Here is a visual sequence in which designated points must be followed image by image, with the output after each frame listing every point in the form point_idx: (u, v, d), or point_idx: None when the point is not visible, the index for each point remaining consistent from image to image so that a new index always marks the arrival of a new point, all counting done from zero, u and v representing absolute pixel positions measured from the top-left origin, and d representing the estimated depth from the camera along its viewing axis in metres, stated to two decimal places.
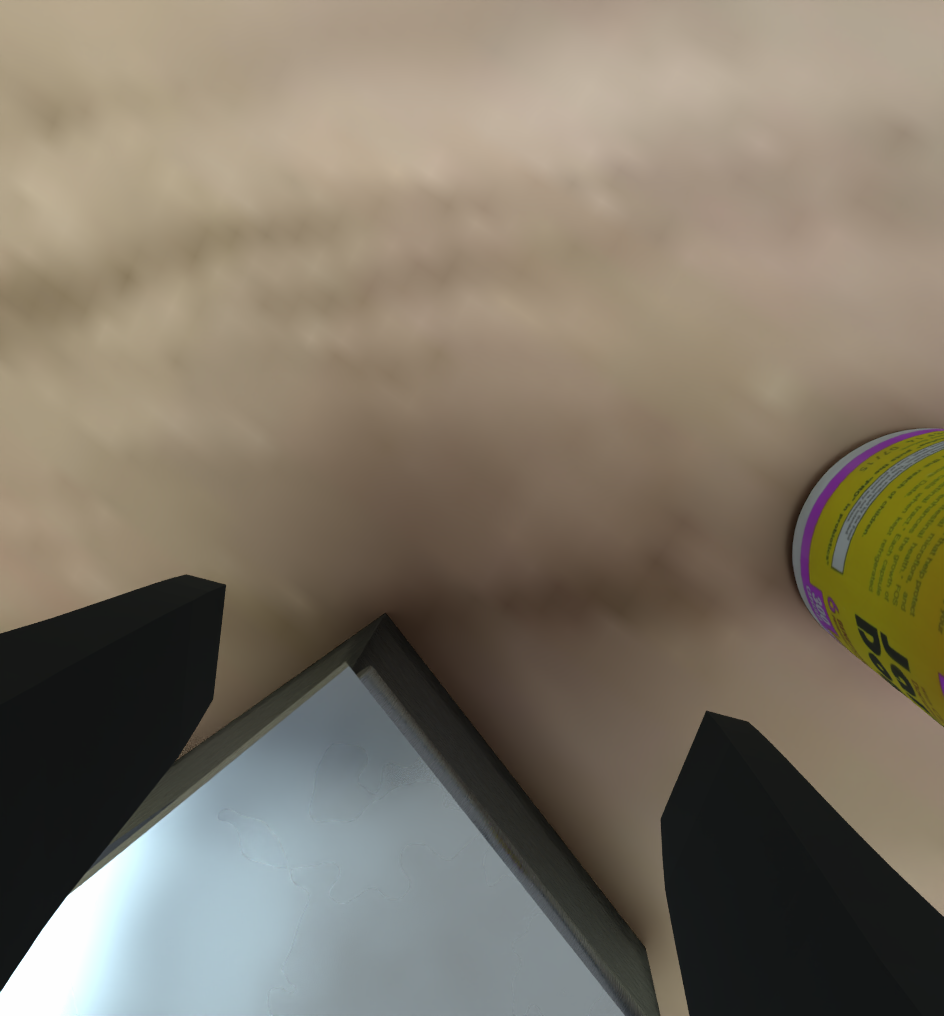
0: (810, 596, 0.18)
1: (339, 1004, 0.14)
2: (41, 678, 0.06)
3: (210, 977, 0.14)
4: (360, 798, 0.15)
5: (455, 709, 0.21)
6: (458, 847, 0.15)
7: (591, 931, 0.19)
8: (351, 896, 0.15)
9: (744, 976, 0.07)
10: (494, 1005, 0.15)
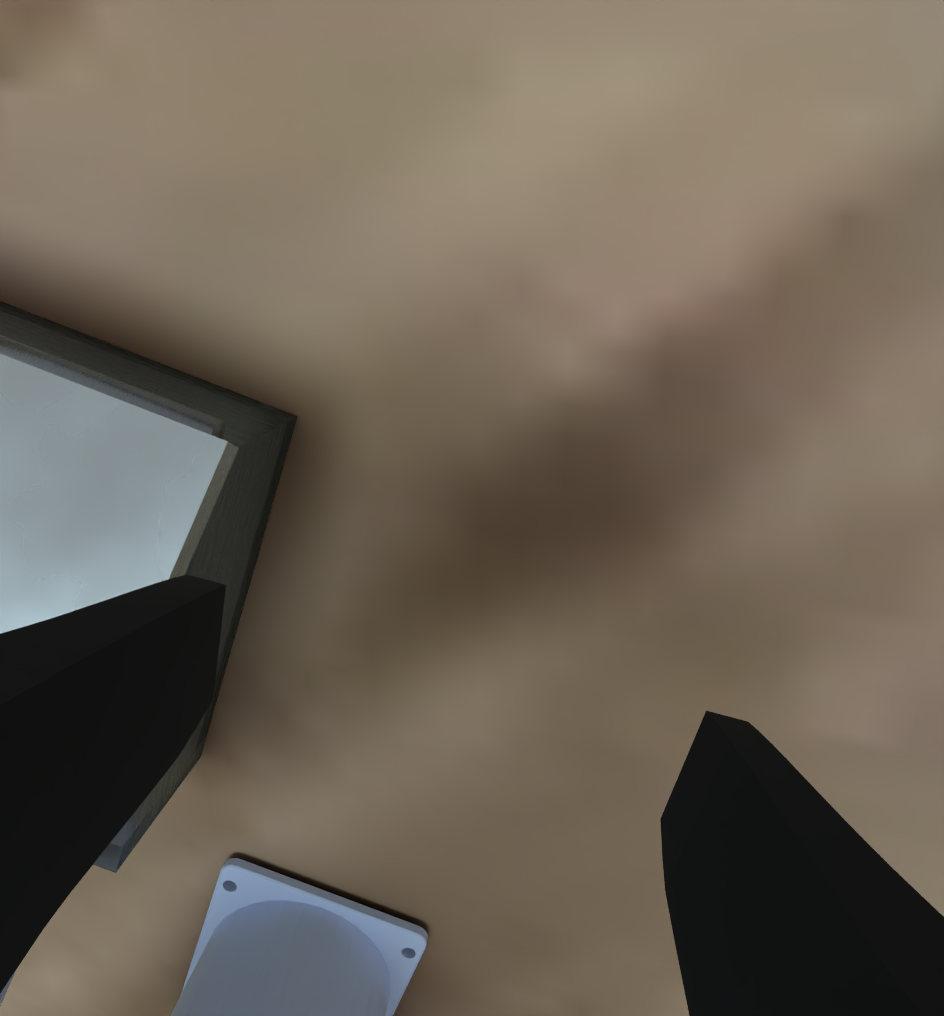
0: None
1: None
2: (41, 678, 0.06)
3: None
4: None
5: None
6: None
7: (131, 384, 0.17)
8: None
9: (744, 976, 0.07)
10: None
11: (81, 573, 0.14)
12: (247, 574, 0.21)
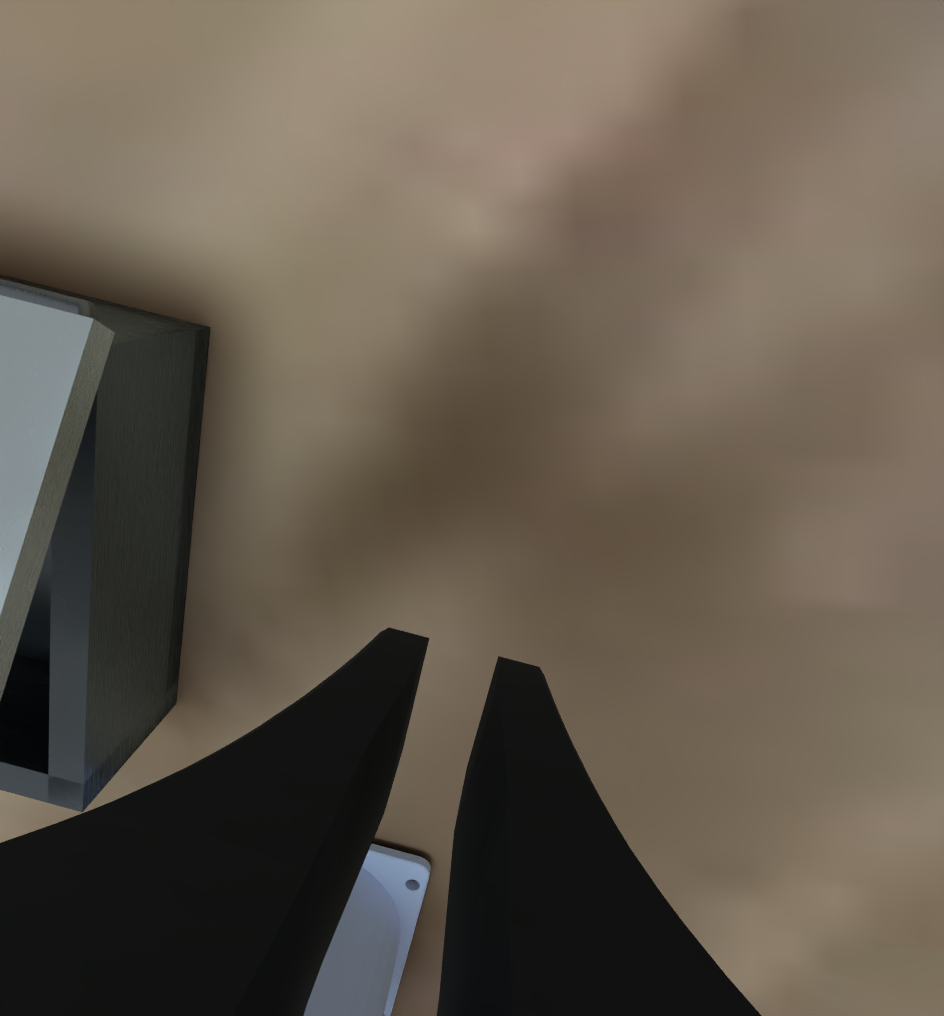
0: None
1: None
2: (352, 761, 0.06)
3: None
4: None
5: None
6: None
7: None
8: None
9: (467, 900, 0.07)
10: None
11: None
12: (186, 501, 0.20)
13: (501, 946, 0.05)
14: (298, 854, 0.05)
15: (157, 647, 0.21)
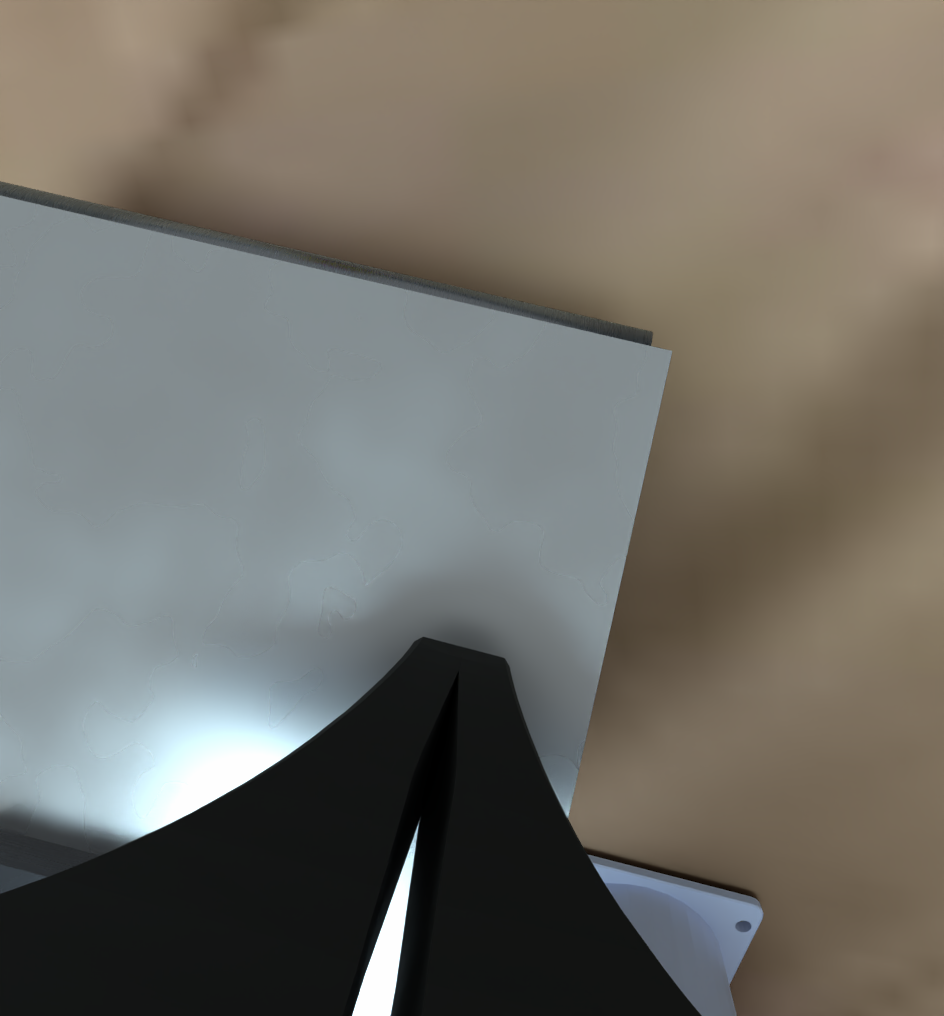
0: None
1: (116, 463, 0.12)
2: (405, 776, 0.06)
3: None
4: (3, 278, 0.13)
5: None
6: (138, 258, 0.13)
7: None
8: (58, 366, 0.13)
9: (421, 888, 0.07)
10: (286, 374, 0.13)
11: (540, 517, 0.12)
12: None
13: (430, 926, 0.05)
14: (367, 873, 0.05)
15: None
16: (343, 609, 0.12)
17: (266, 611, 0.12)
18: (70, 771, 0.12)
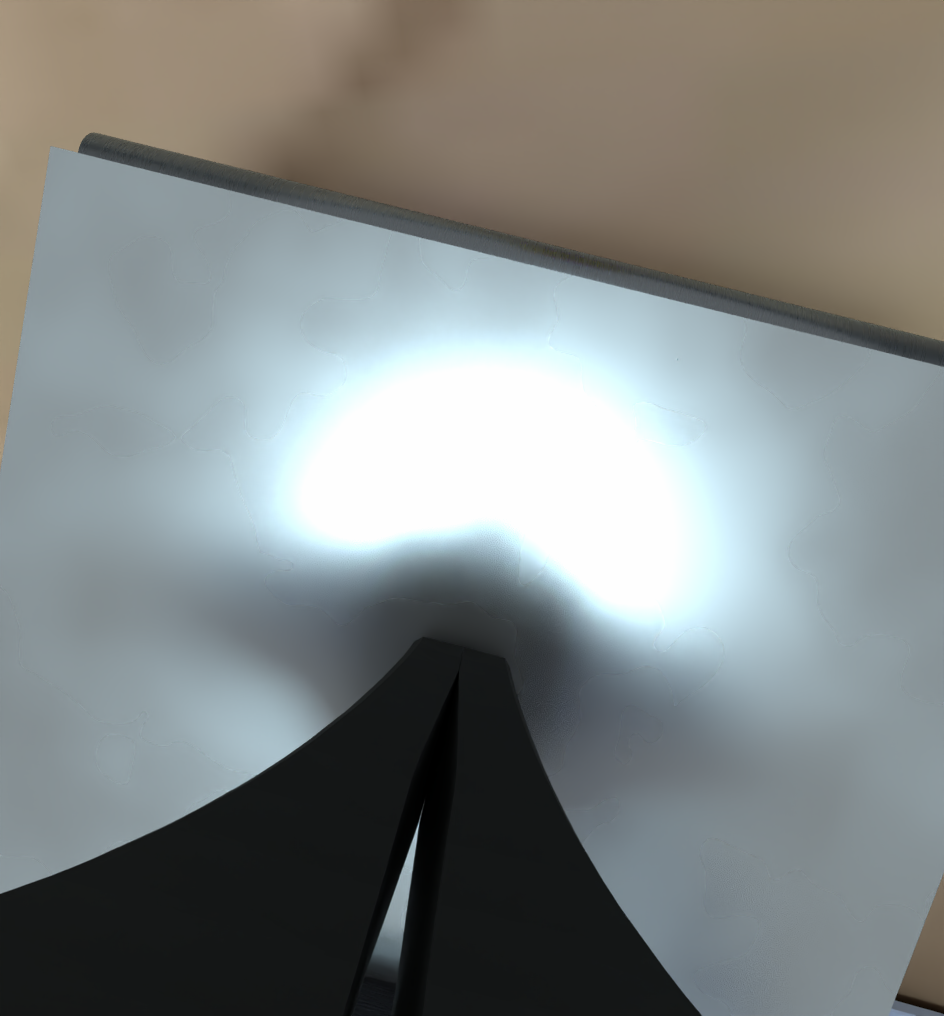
0: None
1: (360, 549, 0.10)
2: (405, 776, 0.06)
3: (187, 603, 0.10)
4: (196, 299, 0.10)
5: None
6: (374, 271, 0.09)
7: None
8: (278, 422, 0.10)
9: (422, 888, 0.07)
10: (577, 436, 0.09)
11: (907, 631, 0.09)
12: None
13: (431, 926, 0.05)
14: (367, 873, 0.05)
15: None
16: (647, 732, 0.10)
17: (551, 731, 0.10)
18: None
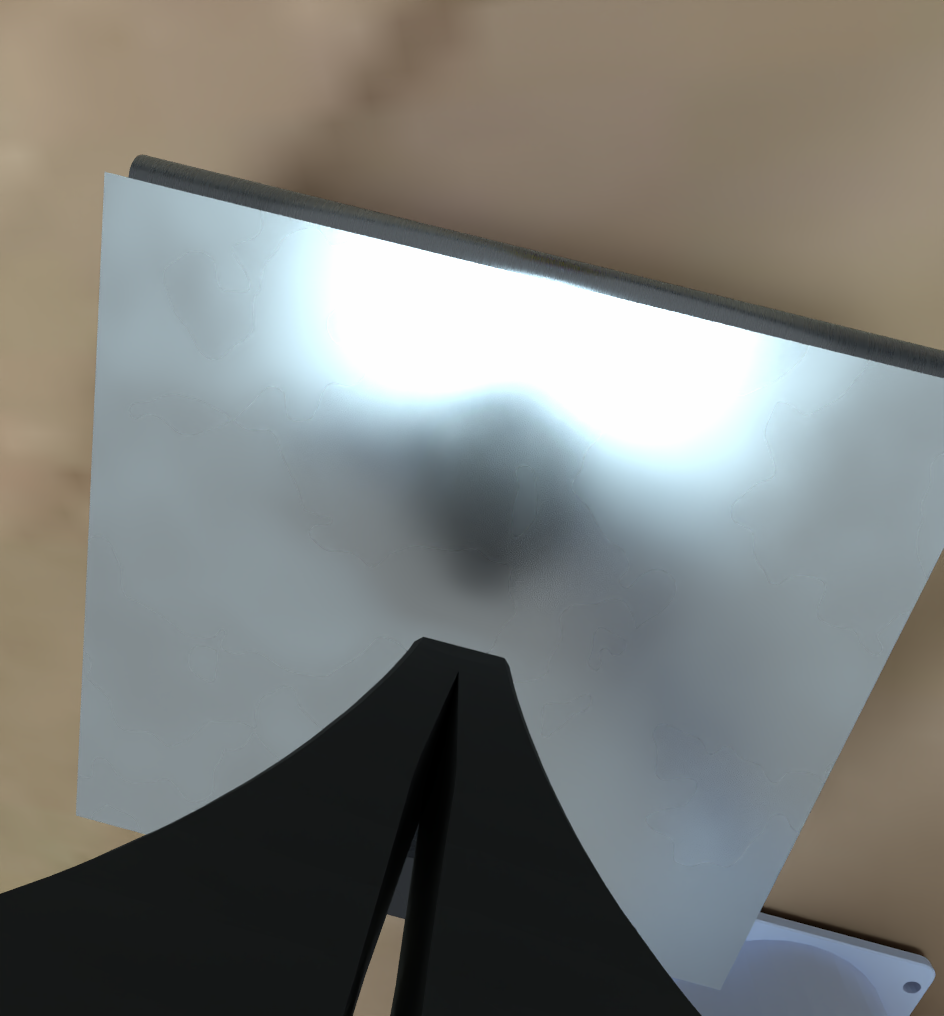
0: None
1: (384, 508, 0.12)
2: (405, 776, 0.06)
3: (249, 549, 0.13)
4: (239, 305, 0.11)
5: None
6: (386, 280, 0.11)
7: None
8: (313, 407, 0.12)
9: (421, 888, 0.07)
10: (558, 418, 0.11)
11: (825, 573, 0.12)
12: None
13: (430, 926, 0.05)
14: (367, 873, 0.05)
15: None
16: (613, 647, 0.13)
17: (539, 645, 0.13)
18: None
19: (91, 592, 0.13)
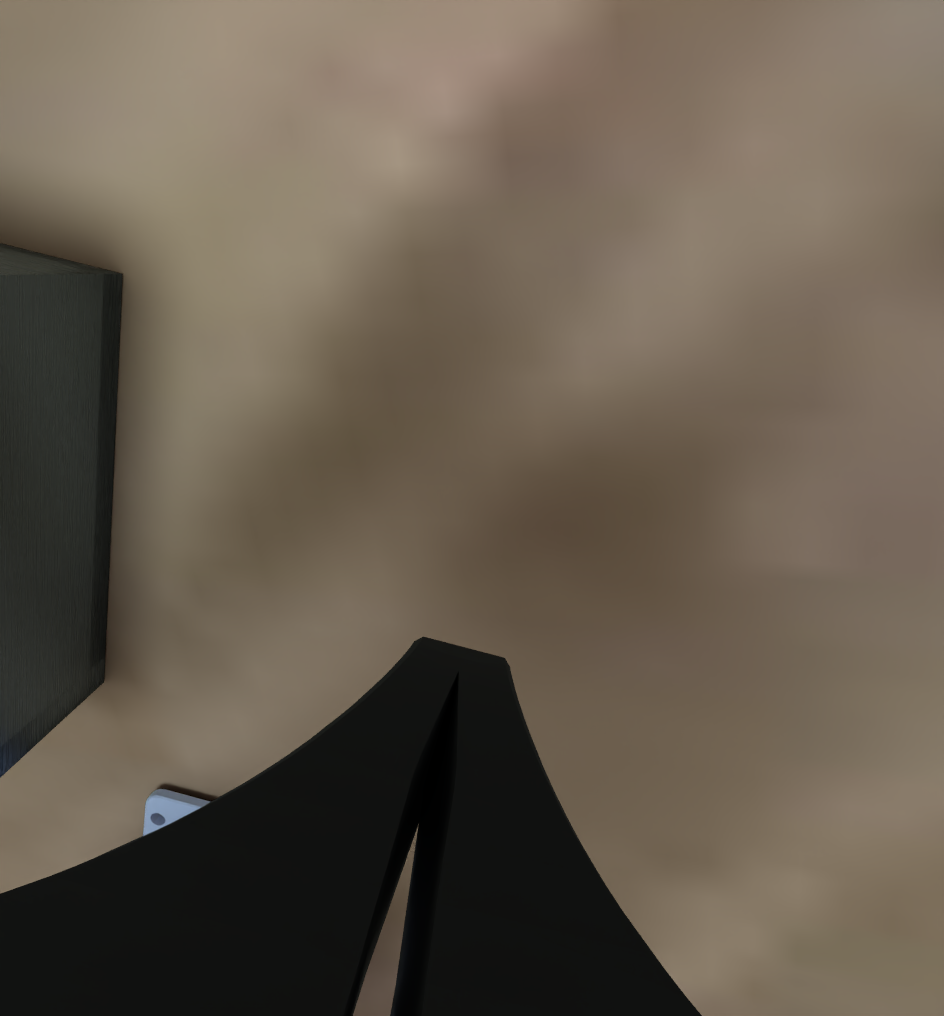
0: None
1: None
2: (405, 776, 0.06)
3: None
4: None
5: None
6: None
7: None
8: None
9: (421, 888, 0.07)
10: None
11: None
12: (103, 463, 0.19)
13: (430, 927, 0.05)
14: (367, 873, 0.05)
15: (75, 618, 0.20)
16: None
17: None
18: None
19: None
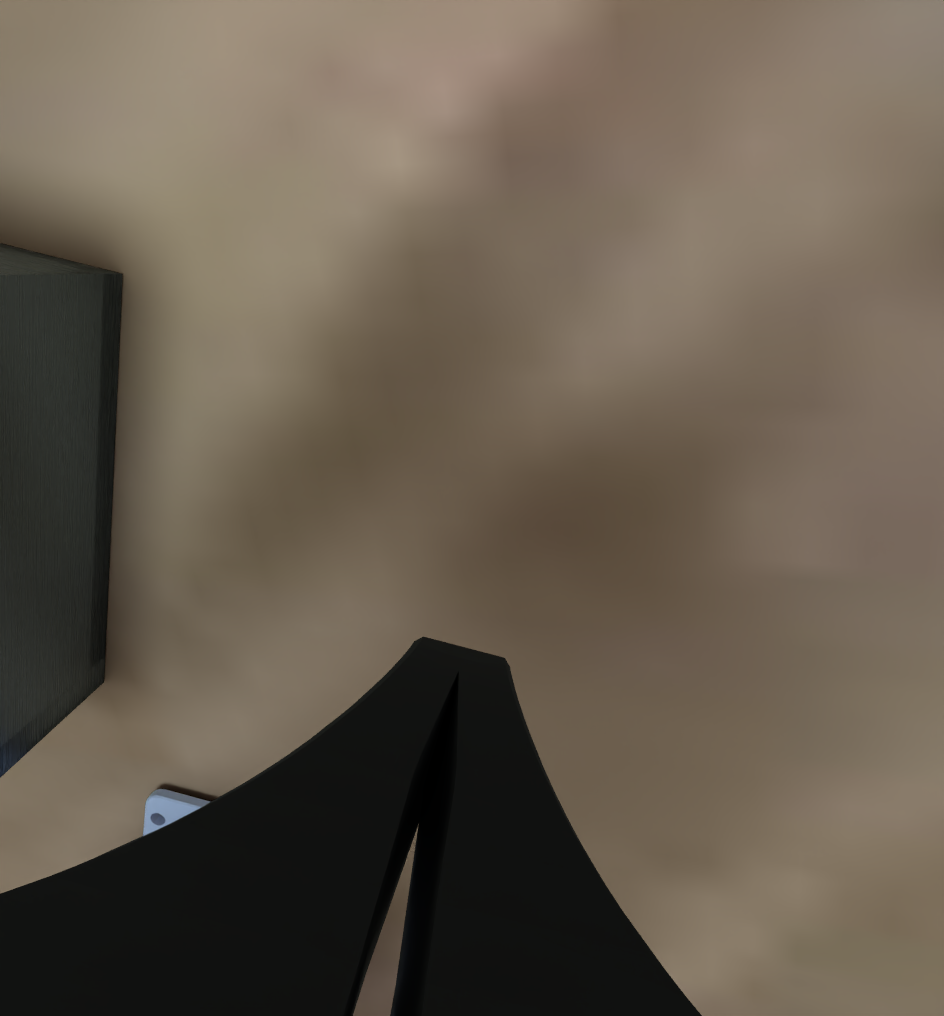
0: None
1: None
2: (405, 776, 0.06)
3: None
4: None
5: None
6: None
7: None
8: None
9: (421, 888, 0.07)
10: None
11: None
12: (103, 463, 0.19)
13: (430, 927, 0.05)
14: (367, 873, 0.05)
15: (75, 618, 0.20)
16: None
17: None
18: None
19: None
